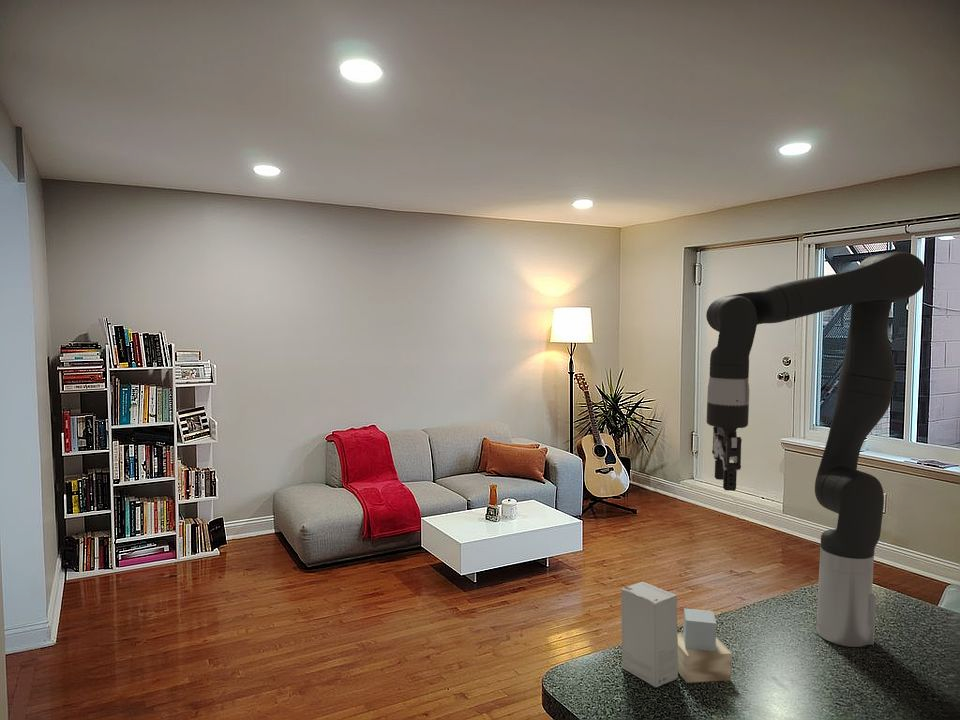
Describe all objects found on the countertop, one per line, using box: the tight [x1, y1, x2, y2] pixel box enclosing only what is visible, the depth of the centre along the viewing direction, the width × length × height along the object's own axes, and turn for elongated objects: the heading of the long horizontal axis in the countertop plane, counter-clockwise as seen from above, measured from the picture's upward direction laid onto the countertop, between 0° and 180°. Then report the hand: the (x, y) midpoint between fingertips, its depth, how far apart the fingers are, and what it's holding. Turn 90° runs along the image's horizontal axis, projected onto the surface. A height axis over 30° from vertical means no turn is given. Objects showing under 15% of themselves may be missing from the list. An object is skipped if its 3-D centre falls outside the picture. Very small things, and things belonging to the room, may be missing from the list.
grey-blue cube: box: [682, 607, 717, 652], centre depth 119 cm, size 5×5×5 cm
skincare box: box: [620, 581, 679, 688], centre depth 117 cm, size 8×6×15 cm
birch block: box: [677, 632, 733, 683], centre depth 120 cm, size 8×8×5 cm
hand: (724, 484), depth 130 cm, fingers open, 8 cm apart
